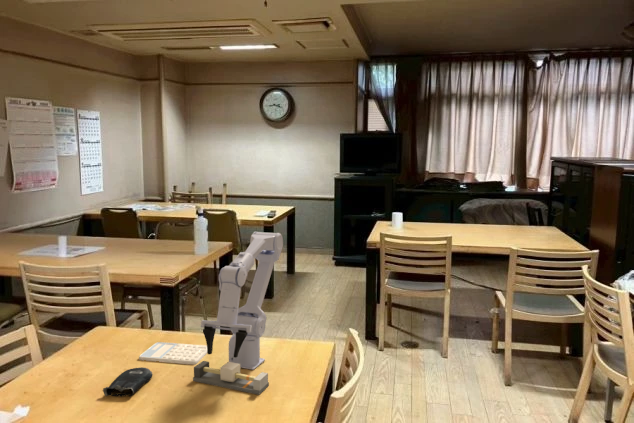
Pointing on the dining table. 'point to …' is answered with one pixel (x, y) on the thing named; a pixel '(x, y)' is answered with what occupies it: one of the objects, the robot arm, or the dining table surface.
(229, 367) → the beige sliding bead
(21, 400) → the dining table surface
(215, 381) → the cord board
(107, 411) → the dining table surface
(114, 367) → the dining table surface
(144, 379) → the electronic device
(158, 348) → the calculator
